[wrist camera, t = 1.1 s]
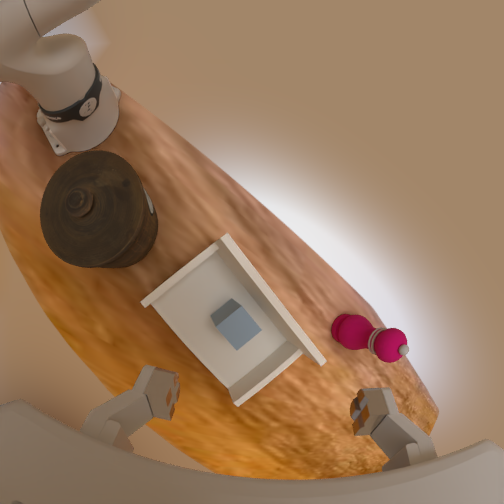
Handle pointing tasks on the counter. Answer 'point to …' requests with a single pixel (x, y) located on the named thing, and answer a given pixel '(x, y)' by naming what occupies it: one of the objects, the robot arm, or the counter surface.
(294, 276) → the counter surface
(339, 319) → the pepper mill
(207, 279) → the open box
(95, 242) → the wooden container
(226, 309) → the block
